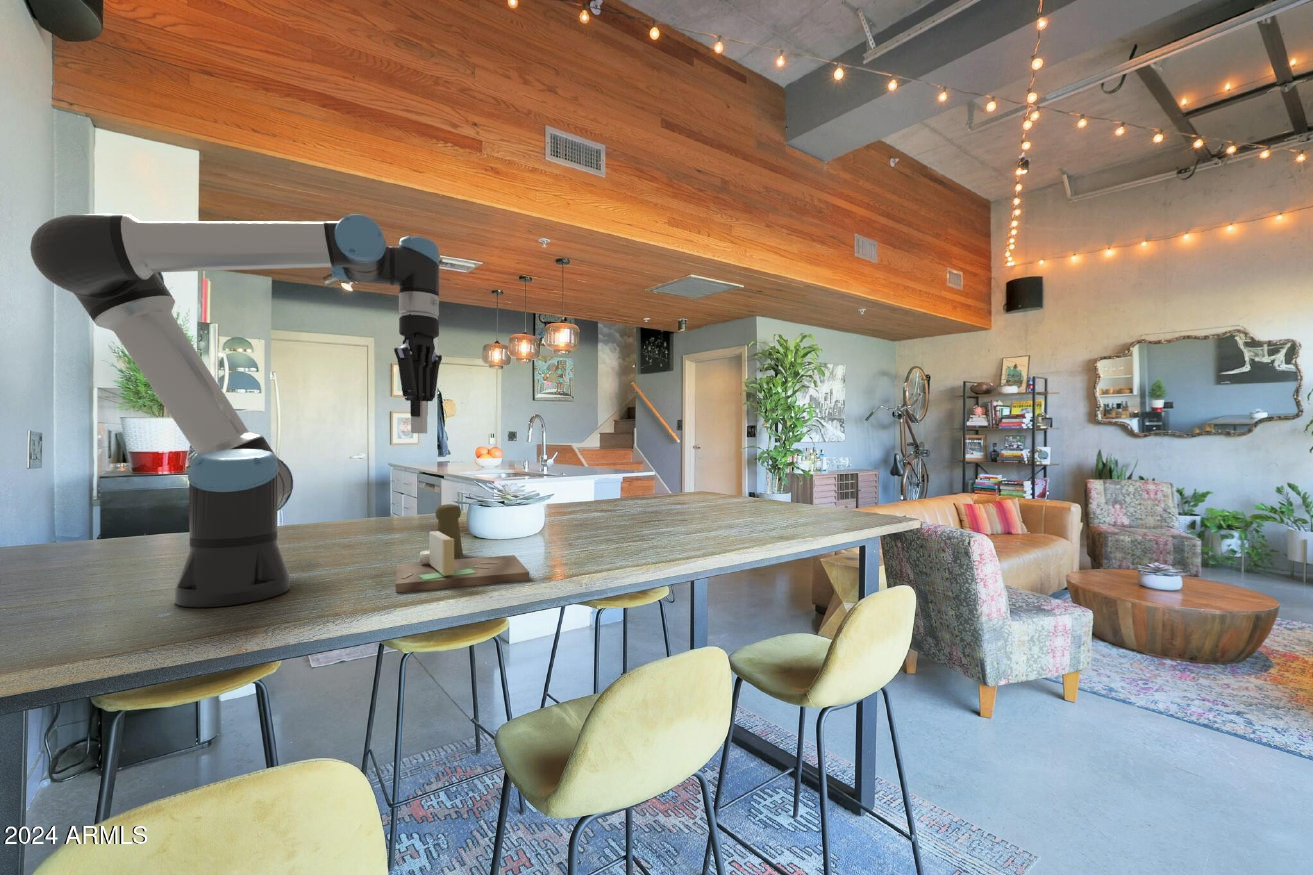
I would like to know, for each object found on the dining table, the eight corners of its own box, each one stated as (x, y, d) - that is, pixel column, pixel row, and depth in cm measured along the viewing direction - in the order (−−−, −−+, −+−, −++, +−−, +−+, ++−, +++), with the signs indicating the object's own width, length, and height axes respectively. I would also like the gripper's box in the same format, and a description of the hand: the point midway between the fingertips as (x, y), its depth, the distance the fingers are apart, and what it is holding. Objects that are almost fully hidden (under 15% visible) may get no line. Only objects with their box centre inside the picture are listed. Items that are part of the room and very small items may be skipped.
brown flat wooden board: (395, 592, 97) (395, 582, 97) (396, 571, 112) (397, 563, 112) (529, 580, 106) (529, 571, 106) (514, 562, 121) (514, 554, 121)
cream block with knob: (417, 560, 113) (417, 528, 112) (439, 558, 115) (439, 527, 115) (437, 576, 100) (437, 540, 100) (460, 573, 102) (460, 538, 102)
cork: (453, 558, 124) (453, 506, 124) (427, 557, 125) (427, 505, 125) (468, 553, 130) (468, 503, 130) (443, 551, 131) (443, 502, 131)
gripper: (416, 309, 112) (416, 433, 112) (453, 322, 125) (453, 433, 125) (381, 311, 114) (381, 433, 114) (421, 323, 126) (421, 433, 126)
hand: (419, 433), depth 119 cm, fingers closed
